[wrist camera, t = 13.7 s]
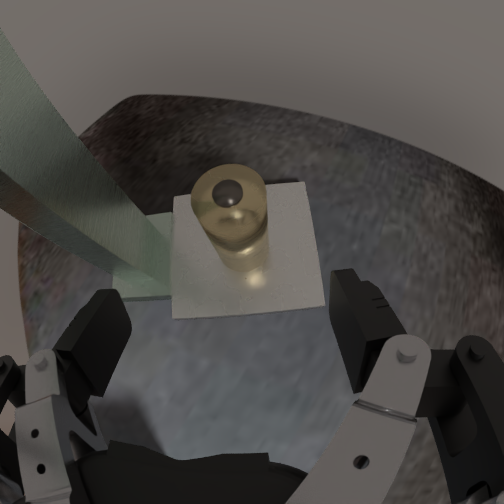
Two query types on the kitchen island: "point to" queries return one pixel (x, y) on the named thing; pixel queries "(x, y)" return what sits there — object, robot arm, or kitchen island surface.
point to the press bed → (142, 219)
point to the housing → (233, 214)
